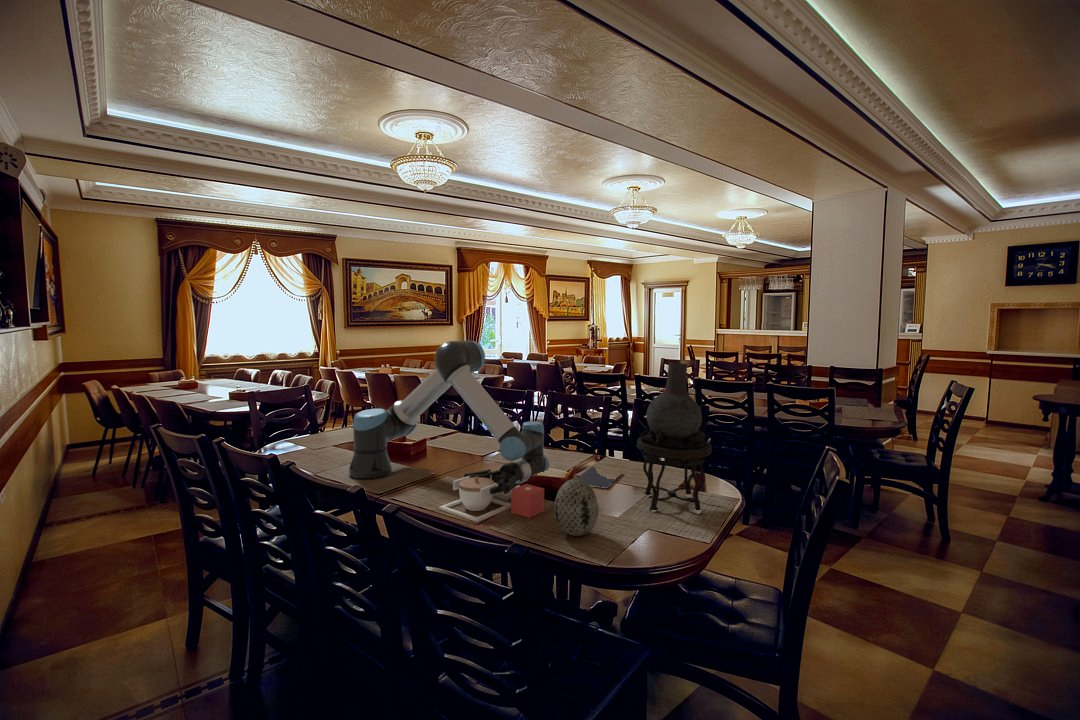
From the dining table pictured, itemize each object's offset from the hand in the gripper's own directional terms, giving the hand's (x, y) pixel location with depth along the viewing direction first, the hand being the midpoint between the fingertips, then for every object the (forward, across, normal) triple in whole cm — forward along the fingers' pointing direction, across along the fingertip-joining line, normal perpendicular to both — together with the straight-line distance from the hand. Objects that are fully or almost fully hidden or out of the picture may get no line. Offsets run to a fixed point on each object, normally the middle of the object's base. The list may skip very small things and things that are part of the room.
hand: (467, 489), depth 148 cm
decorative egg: (-7, -34, -7) cm, 35 cm away
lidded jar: (-4, 0, -7) cm, 8 cm away
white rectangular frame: (-11, 0, -7) cm, 13 cm away
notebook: (-54, -14, -7) cm, 56 cm away
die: (-11, -14, -7) cm, 19 cm away
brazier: (-46, -45, -7) cm, 65 cm away
